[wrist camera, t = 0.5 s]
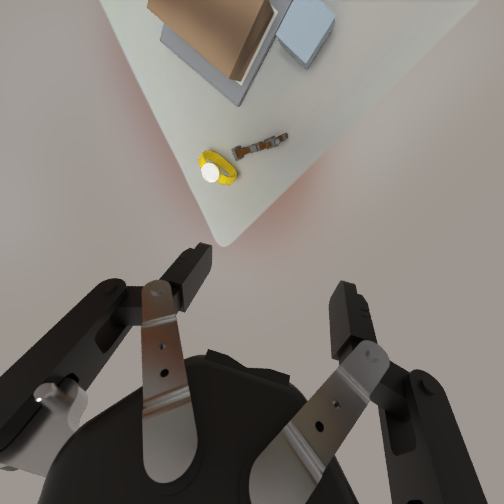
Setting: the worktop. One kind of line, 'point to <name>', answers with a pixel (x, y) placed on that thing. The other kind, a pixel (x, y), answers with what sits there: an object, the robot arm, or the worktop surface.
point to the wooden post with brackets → (258, 146)
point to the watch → (216, 168)
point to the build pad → (210, 73)
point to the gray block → (305, 29)
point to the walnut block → (218, 29)
